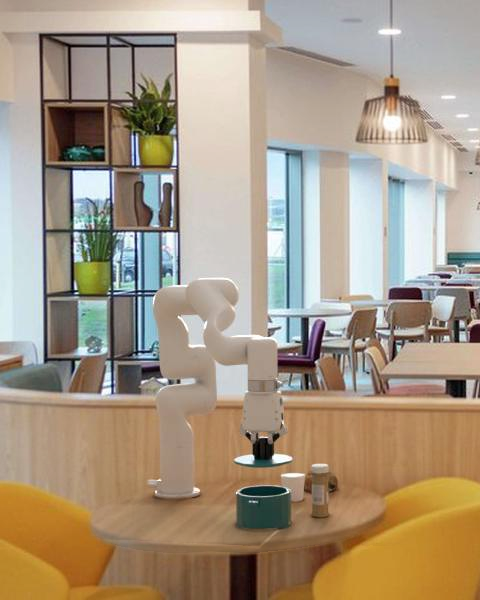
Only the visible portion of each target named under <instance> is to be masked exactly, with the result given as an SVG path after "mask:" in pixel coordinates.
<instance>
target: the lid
mask: <svg viewBox="0 0 480 600" xmlns="http://www.w3.org/2000/svg"><path fill="white" fill-rule="evenodd" d="M267 444H268V436H259V437H258V451H259V459H257V460H255V459H254V456H253V453H252V454H245V455H240V456H237V457H235V458H234V459H233V461H234V464H236V465H238V466H242V467H246V468H254V469H255V468H257V469H258V468H261V469H265V468H275V467H280V466H283V465H287V464H290V463H292V462H293V457H292V456H290V455H287V454H283V453H282V454H281V453H274V456H272V458H271V459H270V460H267V459H266V445H267Z"/></svg>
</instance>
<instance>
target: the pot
mask: <svg viewBox="0 0 480 600" xmlns="http://www.w3.org/2000/svg"><path fill="white" fill-rule="evenodd" d="M235 523H236V526H238V527H241V528H244V529H245V528H246V529H253V530H266V529H268V530H269V529H276V530H282V529H285V528H287V527H289V526H291V523H292V501H291V490H290V489H289V488H286V487H283V486H282V485H271V484H270V485H269V484H264V485H263V484H262V485H251V486H245V487H241V488H238V489H237V490H236V491H235Z"/></svg>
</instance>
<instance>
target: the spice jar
mask: <svg viewBox="0 0 480 600" xmlns="http://www.w3.org/2000/svg"><path fill="white" fill-rule="evenodd" d="M329 470H330V468H329V464H327V463H313V464H312V465H311V466H310V471H311V472H312V492H311V516H312V517H313V518H326V517H328V516H329V514H330V513H329V492H328V472H329Z"/></svg>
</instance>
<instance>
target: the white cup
mask: <svg viewBox="0 0 480 600" xmlns="http://www.w3.org/2000/svg"><path fill="white" fill-rule="evenodd" d="M305 475H306V473H302V472H286V473H281V474H280V483H281V486H283V487H286V488H289V489H290V490H291V503H292V502H296V503H297V502H301V501H304V493H305V491H304V490H305V489H304V481H305Z"/></svg>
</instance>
